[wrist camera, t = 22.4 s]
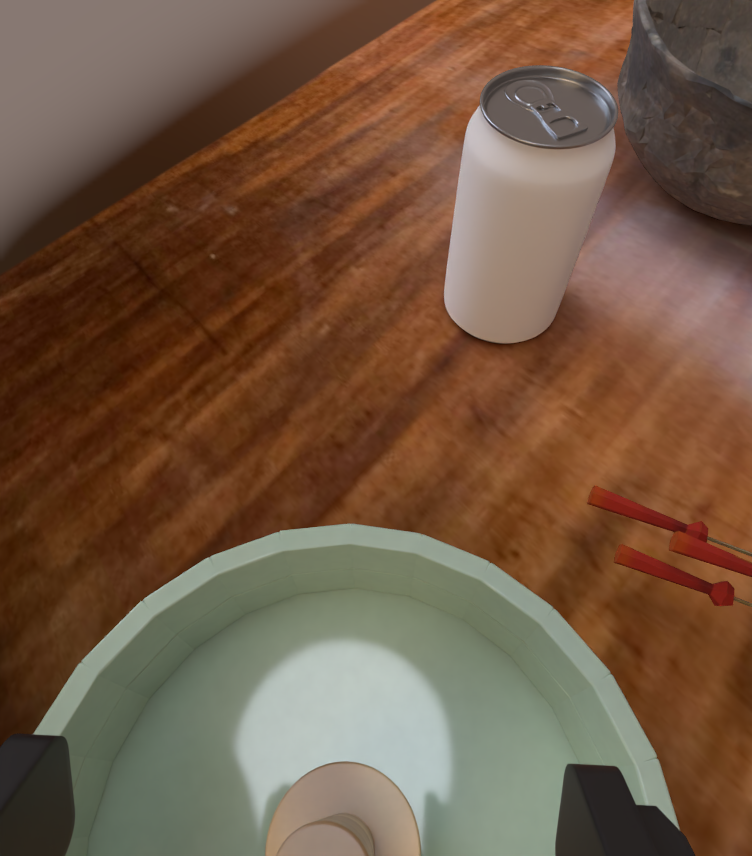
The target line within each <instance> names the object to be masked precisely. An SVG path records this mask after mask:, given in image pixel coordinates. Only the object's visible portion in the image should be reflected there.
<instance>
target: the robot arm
mask: <svg viewBox="0 0 752 856" xmlns="http://www.w3.org/2000/svg"><path fill="white" fill-rule="evenodd" d="M74 824H75V804H74V795H73V785H72V775H71V765H70V756H69V747H68V742H67V740H66V738H65V737H63V736H55V735H36V734H14V735H12V736H10V737H9V738H8V739H7V740H6V741H5V742H4V743H3V744H2V746H1V747H0V856H65V855H66V853H67V850H68V848H69V845H70V842H71V838H72V834H73V830H74ZM555 856H695V854H694V852H693V850H692V848H691V846H690V844H689V842H688V840H687V838H686V837H685V835H684V834H683V833H682V832H681V831H680V830H679V829H678V828H677V827H676V826H675V825H674V824H673V823H672V822H671V821H670V820H669V819H668V818H667V817H666V815H665V814H664V813H663V812H662V811H661V810H660V809H659V808H658V807H657V806H649V805H636V803H635V801H634V799H633V797H632V794H631V792H630V790H629V788H628V786H627V783H626V781H625V779H624V777H623V775H622V773H621V771H620V770H619V768H618V767H616V766H608V765H589V764H567V766H566V768H565V772H564V778H563V786H562V794H561V801H560V809H559V817H558V825H557V832H556V841H555Z"/></svg>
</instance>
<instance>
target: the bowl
mask: <svg viewBox="0 0 752 856" xmlns="http://www.w3.org/2000/svg"><path fill="white" fill-rule="evenodd" d="M618 98H619V104H620V110H621V114H622V117H623V121H624V128H625V132H626V135H627V137H628V139H629V141H630V143H631V145H632V147H633V149H634V150H635V152H636V154H637V156H638V158H639V159H640V161H641V163H642V164H643V166H644V167H645V169H646V170H647V171H648V173H649V174H650V175H651V176H652V178H653V179H654V180H655V181H656V182H657V183H658V184H659V185H660V186H661V187H663V188H664V190H665V191H666V192H667V193H668V194H670V195H671V196H672V197H674V198H675V199H677V200H678V201H680V202H681V203H683V204H684V205H686V206H687V207H689V208H691V209H693V210H695V211H697V212H701V213H703V214H706V215H708V216H711V217H714V218H716V219H719V220H724V221H729V222H734V223H738V224H745V225H751V226H752V0H634V7H633V27H632V36H631V40H630V45H629V48H628V51H627V55H626V58H625V60H624V62H623V65H622V69H621V72H620V75H619V79H618Z"/></svg>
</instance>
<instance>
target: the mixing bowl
mask: <svg viewBox="0 0 752 856" xmlns="http://www.w3.org/2000/svg"><path fill="white" fill-rule="evenodd" d="M34 734H36V735H55V736H63V737H65V738H66V740H67V742H68V747H69V756H70V765H71V775H72V785H73V795H74V804H75V824H74V830H73V834H72V838H71V842H70V845H69V848H68V850H67V853H66V855H65V856H265V846H266V839H267V834H268V830H269V826H270V823H271V820H272V817H273V815H274V812H275V810H276V808H277V806H278V804H279V803H280V801H281V800H282V798H283V797H284V795H285V794H286V792H287V791H288V790H289V789H290V788H291V786H292V785H293V784H294V783H295V782H296V781H298V780H299V779H300V778H301V777H302V776H304V775H305V774H307V773H308V772H309V771H311V770H313V769H315V768H317V767H319V766H322V765H325V764H328V763H333V762H342V761H349V762H357V763H361V764H365V765H368V766H370V767H373V768H375V769H377V770H378V771H380V772H382V773H383V774H384V775H386V776H387V777H388V778H390V779H391V780H392V781H393V782H394V783H395V784H396V785H397V786H398V787H399V789H400V790H401V791H402V793H403V794H404V796H405V797H406V799H407V801H408V802H409V804H410V806H411V808H412V811H413V813H414V815H415V819H416V822H417V825H418V830H419V835H420V843H421V856H555V841H556V832H557V825H558V817H559V809H560V801H561V794H562V786H563V778H564V772H565V768H566V766H567V764H589V765H608V766H616V767H618V768H619V770H620V771H621V773H622V775H623V777H624V779H625V781H626V783H627V786H628V788H629V790H630V792H631V794H632V797H633V799H634V801H635V803H636V805H649V806H657V807H658V808H659V809H660V810H661V811H662V812H663V813H664V814H665V815H666V817H667V818H668V819H669V820H670V821H671V822H672V823H673V824H674V825H675V826H676V827H677V828H678V829H679V830H680V828H679V825H678V821H677V818H676V815H675V811H674V808H673V805H672V802H671V798H670V795H669V792H668V788H667V785H666V782H665V779H664V775H663V772H662V769H661V765H660V762H659V760H658V759H657V754H656V753H655V751H654V749H653V747H652V745H651V744H650V742H649V740H648V738H647V736H646V735H645V733H644V731H643V729H642V727H641V725H640V724H639V722H638V720H637V718H636V716H635V715H634V713H633V711H632V709H631V707H630V706H629V704H628V702H627V700H626V698H625V697H624V695H623V693H622V691H621V689H620V687H619V686H618V684H617V682H616V680H615V678H614V677H613V675H612V674H610V671H609V670H608V668H607V667H606V666H605V665H604V664H603V663H602V662H601V660H600V659H599V658H598V657H597V656H596V655H595V654H594V652H593V651H592V650H591V649H590V648H589V647H588V646H587V644H586V643H585V642H584V641H583V640H582V639H581V638H580V637H579V635H578V634H577V633H576V632H575V631H574V630H573V629H572V627H571V626H570V625H569V624H568V623H567V622H566V621H565V619H564V618H563V617H562V616H561V615H560V614H559V613H558V611H557V610H555V609H553V607H552V606H551V605H550V604H548V603H547V602H545V601H544V600H543V599H541V598H540V597H539V596H537V595H536V594H534V593H533V592H532V591H530V590H529V589H527V588H526V587H525V586H523V585H522V584H520V583H519V582H518V581H516V580H515V579H514V578H512V577H511V576H509V575H508V574H507V573H505V572H504V571H502V570H501V569H500V568H498V567H497V566H495V565H494V564H493V563H490V562H489V561H487V560H485V559H482V558H480V557H478V556H475V555H473V554H470V553H468V552H465V551H463V550H460V549H458V548H455V547H453V546H450V545H448V544H446V543H443V542H441V541H438V540H436V539H433V538H431V537H428V536H426V535H421V534H420V533H414V532H407V531H400V530H393V529H386V528H379V527H372V526H365V525H358V524H341V525H331V526H322V527H312V528H303V529H293V530H283V531H280V533H279V532H277V533H274V534H271V535H268V536H265V537H263V538H260V539H257V540H254V541H251V542H249V543H246V544H243V545H240V546H237V547H235V548H232V549H229V550H226V551H223V552H221V553H218V554H215V555H212V556H211V557H210V558H209V557H208V558H206V559H205V560H203V561H201V562H200V563H198V564H197V565H195V566H194V567H192V568H191V569H189V570H188V571H186V572H184V573H183V574H181V575H180V576H178V577H177V578H175V579H174V580H172V581H170V582H169V583H167V584H166V585H164V586H163V587H161V588H160V589H158V590H157V591H155V592H153V593H152V594H150V595H149V596H147V597H146V598H144V599H143V601H141V602H139V603H138V604H137V605H136V606H135V607H134V608H133V609H132V610H131V612H130V613H129V614H128V615H127V616H126V617H125V618H124V619H123V620H122V621H121V622H120V623H119V624H118V625H117V626H116V627H115V628H114V629H113V630H112V631H111V632H110V633H109V634H108V635H107V636H106V637H105V638H104V639H103V640H102V641H101V642H100V643H99V644H98V645H97V646H96V647H95V648H94V649H93V650H92V651H91V652H90V653H89V654H88V655H87V656H86V657H85V658H84V659H83V660H82V663H79V664H78V666H77V667H76V669H75V670H74V672H73V673H72V675H71V676H70V678H69V679H68V681H67V683H66V684H65V686H64V687H63V689H62V690H61V692H60V693H59V695H58V696H57V698H56V700H55V701H54V703H53V704H52V706H51V707H50V709H49V710H48V712H47V713H46V715H45V717H44V718H43V720H42V721H41V723H40V724H39V726H38V727H37V729H36V730H35V732H34Z"/></svg>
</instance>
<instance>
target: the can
mask: <svg viewBox="0 0 752 856" xmlns="http://www.w3.org/2000/svg"><path fill="white" fill-rule="evenodd" d="M617 118H618V107H617V103H616V101H615V99H614V97H613V96H612V94H611V93H610V92H609V91H608V90H607V89H606V88H605V87H604V86H603V85H602V84H600V83H599V82H598V81H596V80H594V79H593V78H591V77H589V76H587V75H584V74H582V73H579V72H577V71H573V70H570V69H566V68H561V67H555V66H525V67H519V68H515V69H511V70H508V71H505V72H503V73H501V74H499V75H497V76H496V77H494V78H493V79H492V80H490V81H489V82H488V83H487V84H486V86H485V87H484V89H483V91H482V93H481V96H480V106H479V107H478V108H477V110H476V111H475V113H474V114H473V116H472V117H471V119H470V121H469V123H468V126H467V130H466V134H465V140H464V146H463V152H462V159H461V166H460V174H459V181H458V188H457V195H456V203H455V210H454V218H453V225H452V233H451V240H450V248H449V255H448V263H447V271H446V279H445V288H444V302H445V306H446V309H447V311H448V313H449V315H450V317H451V318H452V319H453V320H454V322H455V323H456V324H457V325H458V326H459V327H461V328H462V329H463V330H465V331H466V332H467V333H469V334H470V335H472V336H474V337H476V338H479V339H481V340H484V341H488V342H492V343H501V344H508V343H516V342H521V341H525V340H528V339H531V338H533V337H536V336H537V335H539V334H541V333H542V332H543V331H545V330H546V329H547V328H548V327H549V326H550V324H551V323H552V321H553V320H554V318H555V316H556V313H557V311H558V308H559V306H560V303H561V301H562V298H563V295H564V293H565V290H566V287H567V285H568V282H569V279H570V277H571V274H572V271H573V269H574V266H575V263H576V261H577V258H578V255H579V253H580V250H581V247H582V245H583V242H584V239H585V237H586V234H587V231H588V228H589V226H590V223H591V220H592V218H593V215H594V212H595V209H596V207H597V204H598V201H599V199H600V196H601V193H602V190H603V188H604V185H605V182H606V179H607V176H608V174H609V171H610V168H611V165H612V162H613V158H614V154H615V148H616V142H615V134H614V128H613V127H614V126H615V124H616V121H617Z"/></svg>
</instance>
